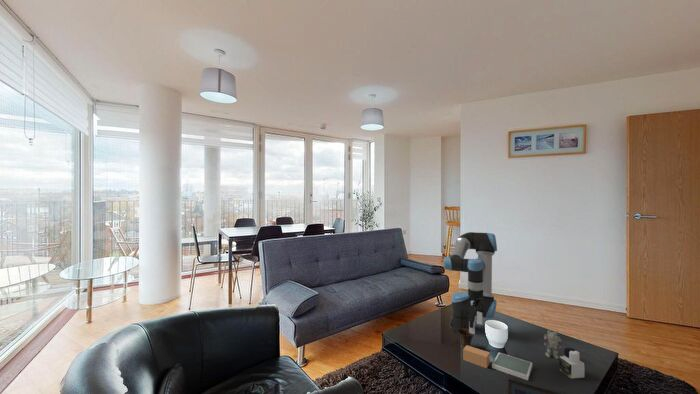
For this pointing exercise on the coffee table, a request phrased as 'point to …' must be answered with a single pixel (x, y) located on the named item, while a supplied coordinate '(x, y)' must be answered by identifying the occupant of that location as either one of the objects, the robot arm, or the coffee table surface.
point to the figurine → (552, 343)
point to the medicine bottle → (572, 364)
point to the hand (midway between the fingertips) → (476, 328)
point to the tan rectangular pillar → (476, 356)
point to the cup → (465, 337)
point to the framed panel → (512, 366)
